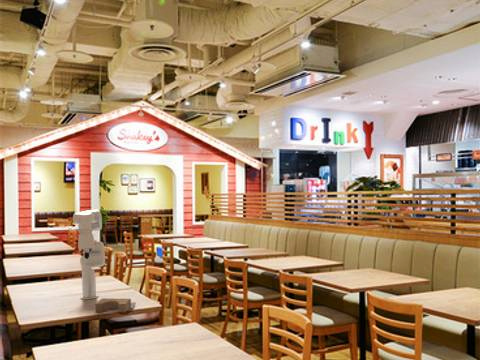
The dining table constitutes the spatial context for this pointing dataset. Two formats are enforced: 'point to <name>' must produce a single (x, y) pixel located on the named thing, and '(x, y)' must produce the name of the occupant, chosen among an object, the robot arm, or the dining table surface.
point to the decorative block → (113, 305)
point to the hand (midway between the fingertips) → (86, 258)
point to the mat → (129, 308)
